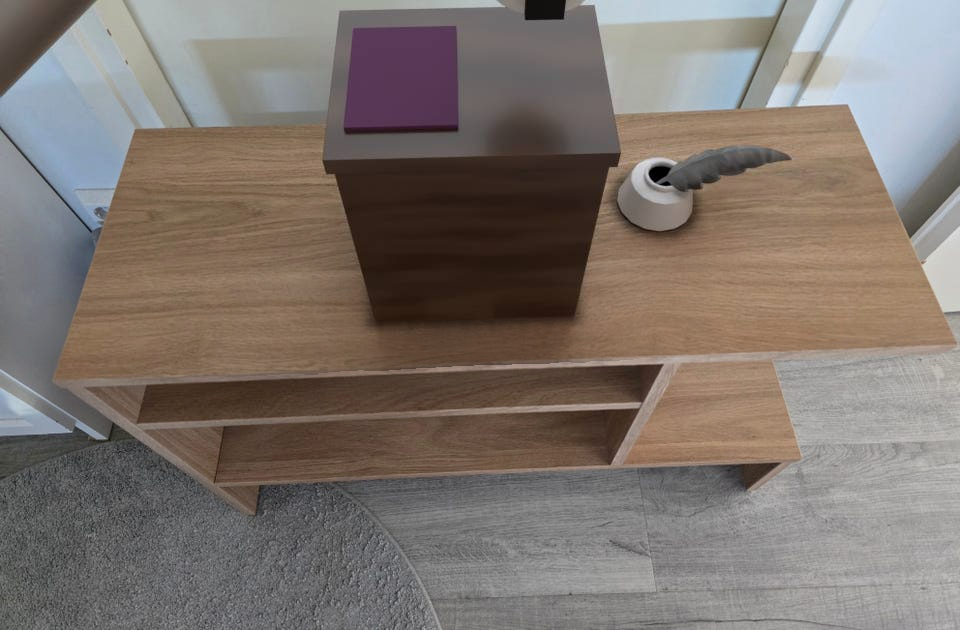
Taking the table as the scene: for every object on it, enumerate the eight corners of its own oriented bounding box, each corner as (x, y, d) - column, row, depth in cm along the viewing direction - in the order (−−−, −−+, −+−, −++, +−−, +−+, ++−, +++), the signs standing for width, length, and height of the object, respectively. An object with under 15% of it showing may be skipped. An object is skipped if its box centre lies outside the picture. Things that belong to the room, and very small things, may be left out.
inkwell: (613, 173, 85) (628, 113, 77) (756, 174, 85) (787, 113, 77) (620, 232, 81) (636, 175, 72) (772, 233, 81) (806, 175, 72)
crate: (579, 320, 75) (621, 153, 52) (370, 326, 75) (322, 160, 52) (564, 193, 84) (594, 4, 61) (378, 198, 84) (339, 10, 61)
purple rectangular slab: (458, 128, 54) (458, 124, 53) (344, 131, 54) (343, 127, 53) (456, 29, 60) (456, 25, 59) (353, 31, 60) (353, 27, 59)
